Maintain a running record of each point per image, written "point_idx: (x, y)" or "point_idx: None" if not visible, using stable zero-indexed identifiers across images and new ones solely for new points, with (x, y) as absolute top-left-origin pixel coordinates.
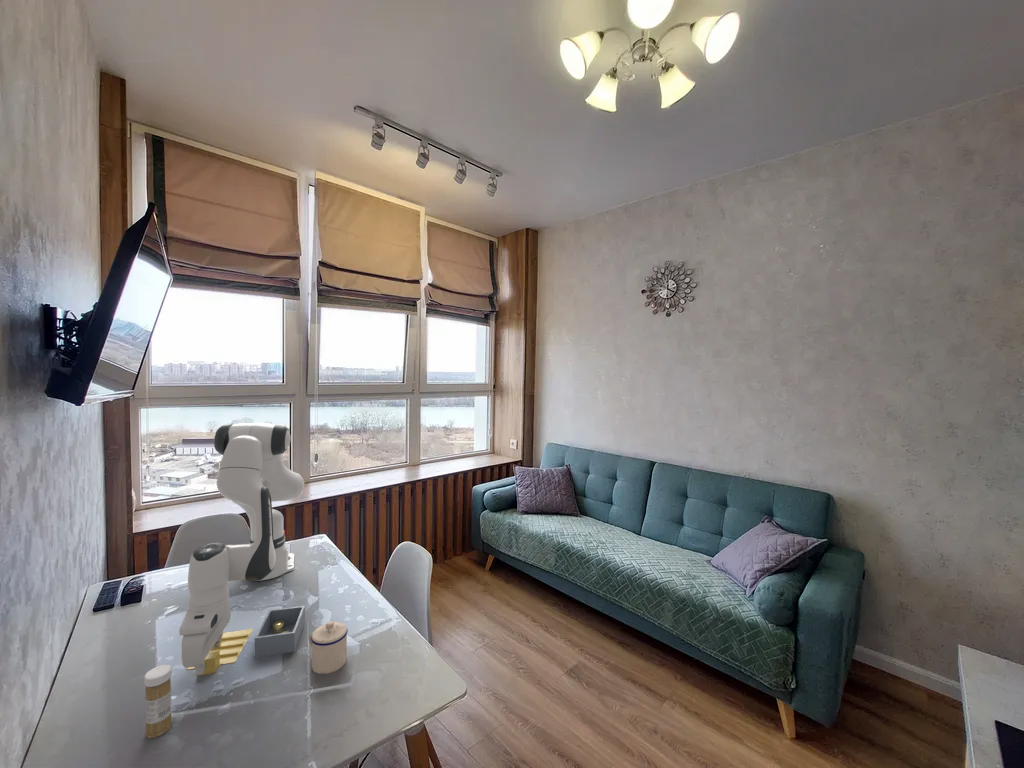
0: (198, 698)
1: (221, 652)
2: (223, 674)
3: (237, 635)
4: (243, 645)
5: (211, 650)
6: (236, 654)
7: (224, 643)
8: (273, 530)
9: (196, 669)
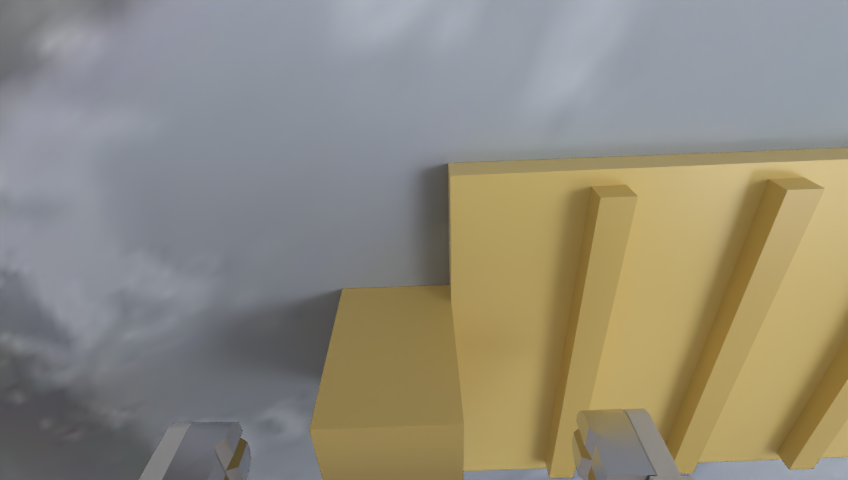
0: (113, 380)
1: (631, 364)
2: None
3: (840, 414)
4: None
5: (720, 277)
6: (546, 458)
7: (786, 339)
8: None
9: (145, 477)
